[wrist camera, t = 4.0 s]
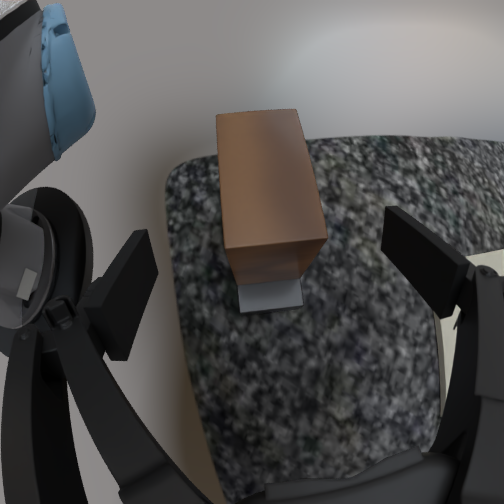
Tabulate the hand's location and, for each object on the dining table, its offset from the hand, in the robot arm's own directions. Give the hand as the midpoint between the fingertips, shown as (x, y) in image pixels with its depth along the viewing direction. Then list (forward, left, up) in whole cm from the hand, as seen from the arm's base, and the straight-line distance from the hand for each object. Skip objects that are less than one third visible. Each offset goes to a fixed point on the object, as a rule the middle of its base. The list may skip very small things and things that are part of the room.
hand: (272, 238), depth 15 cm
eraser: (0, +3, -9) cm, 9 cm away
